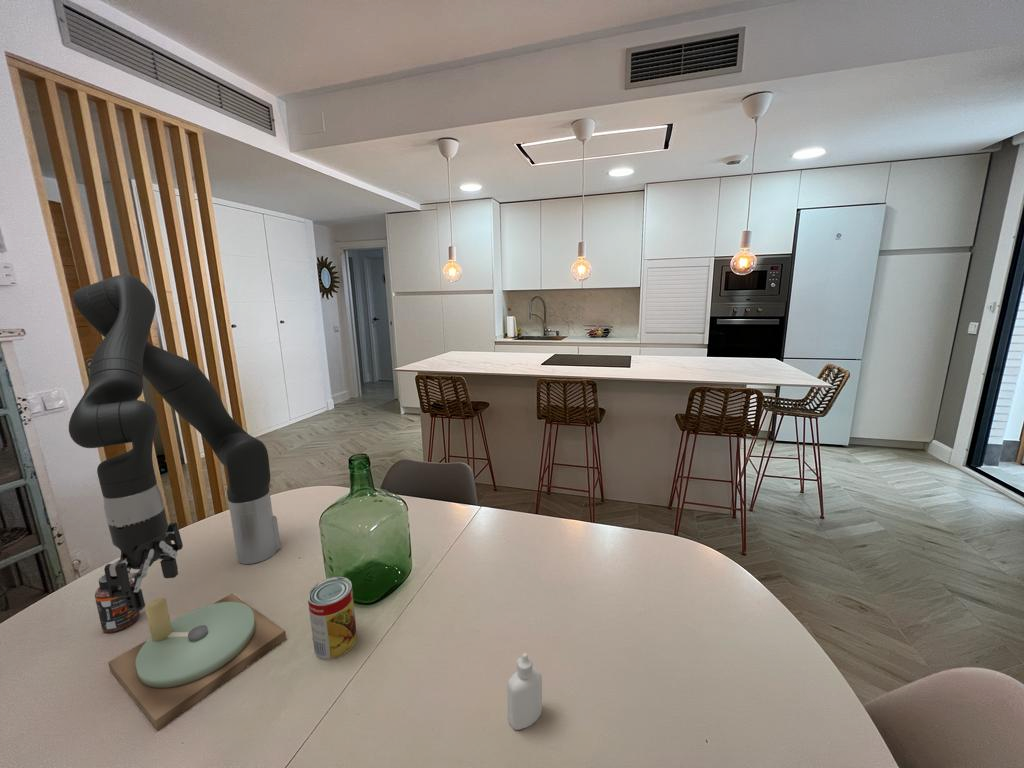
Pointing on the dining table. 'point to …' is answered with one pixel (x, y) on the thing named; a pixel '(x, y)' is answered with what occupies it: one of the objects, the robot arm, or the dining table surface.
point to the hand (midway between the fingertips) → (155, 592)
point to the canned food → (332, 617)
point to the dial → (192, 642)
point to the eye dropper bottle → (524, 694)
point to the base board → (176, 700)
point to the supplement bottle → (113, 609)
